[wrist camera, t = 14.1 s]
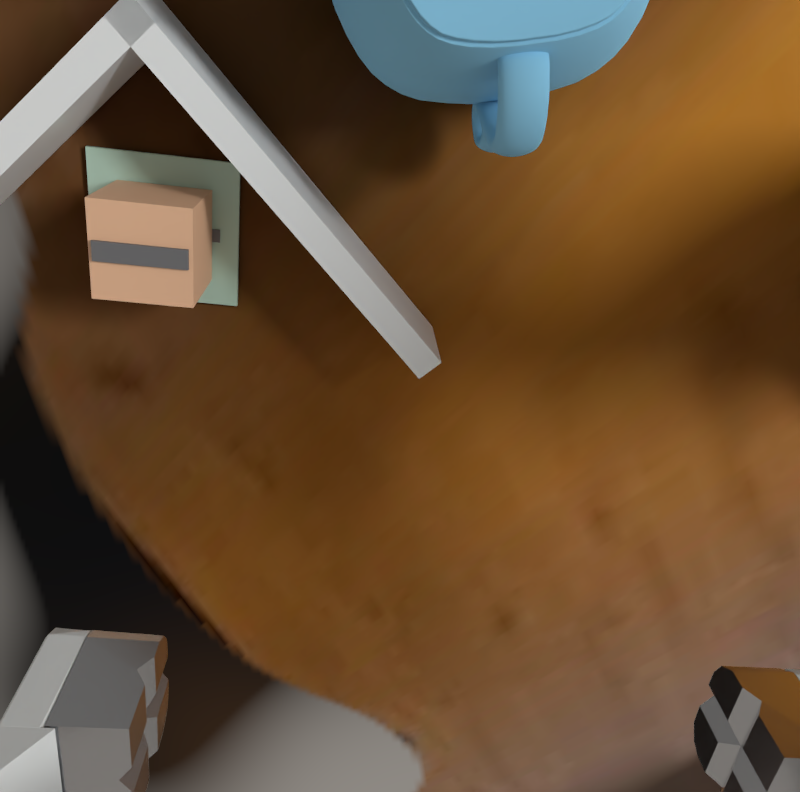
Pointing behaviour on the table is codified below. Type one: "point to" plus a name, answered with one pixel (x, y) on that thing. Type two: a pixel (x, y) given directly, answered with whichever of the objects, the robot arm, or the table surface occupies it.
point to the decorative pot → (489, 55)
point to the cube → (149, 243)
